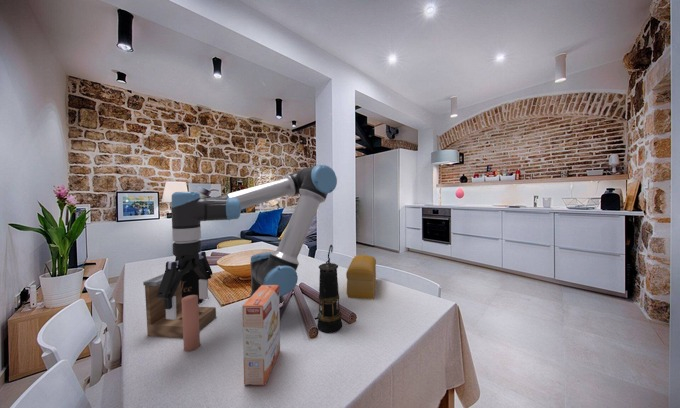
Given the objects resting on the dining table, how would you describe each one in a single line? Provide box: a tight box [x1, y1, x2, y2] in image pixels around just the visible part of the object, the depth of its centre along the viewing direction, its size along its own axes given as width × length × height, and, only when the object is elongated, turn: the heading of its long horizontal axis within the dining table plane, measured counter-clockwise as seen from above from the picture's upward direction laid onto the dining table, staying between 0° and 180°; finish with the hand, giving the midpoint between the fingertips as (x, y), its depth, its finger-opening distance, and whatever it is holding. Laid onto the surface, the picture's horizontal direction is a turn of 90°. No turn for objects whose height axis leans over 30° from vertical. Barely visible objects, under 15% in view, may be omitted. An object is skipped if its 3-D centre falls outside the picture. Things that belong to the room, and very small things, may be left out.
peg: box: [182, 295, 201, 352], centre depth 76 cm, size 4×4×16 cm
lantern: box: [314, 244, 343, 334], centre depth 87 cm, size 9×9×30 cm
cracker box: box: [241, 285, 281, 386], centre depth 67 cm, size 14×6×21 cm, turn 178°
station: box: [142, 270, 217, 339], centre depth 89 cm, size 16×15×19 cm
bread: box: [345, 254, 377, 300], centre depth 121 cm, size 24×13×15 cm, turn 169°
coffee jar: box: [181, 270, 204, 305], centre depth 108 cm, size 11×11×18 cm
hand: (188, 307), depth 76 cm, fingers open, 13 cm apart
